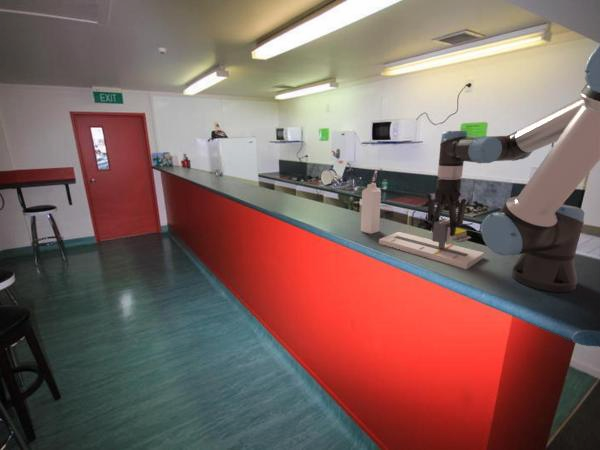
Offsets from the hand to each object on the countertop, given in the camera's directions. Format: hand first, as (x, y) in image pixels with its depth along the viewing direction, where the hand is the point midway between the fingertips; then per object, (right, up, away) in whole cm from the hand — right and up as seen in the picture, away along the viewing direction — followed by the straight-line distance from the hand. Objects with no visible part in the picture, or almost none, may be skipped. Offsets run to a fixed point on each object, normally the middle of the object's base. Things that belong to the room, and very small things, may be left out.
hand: (442, 242), depth 110 cm
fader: (0, -2, +1) cm, 2 cm away
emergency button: (+13, +1, +22) cm, 25 cm away
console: (-3, -3, +5) cm, 7 cm away
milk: (-19, +3, +30) cm, 36 cm away
